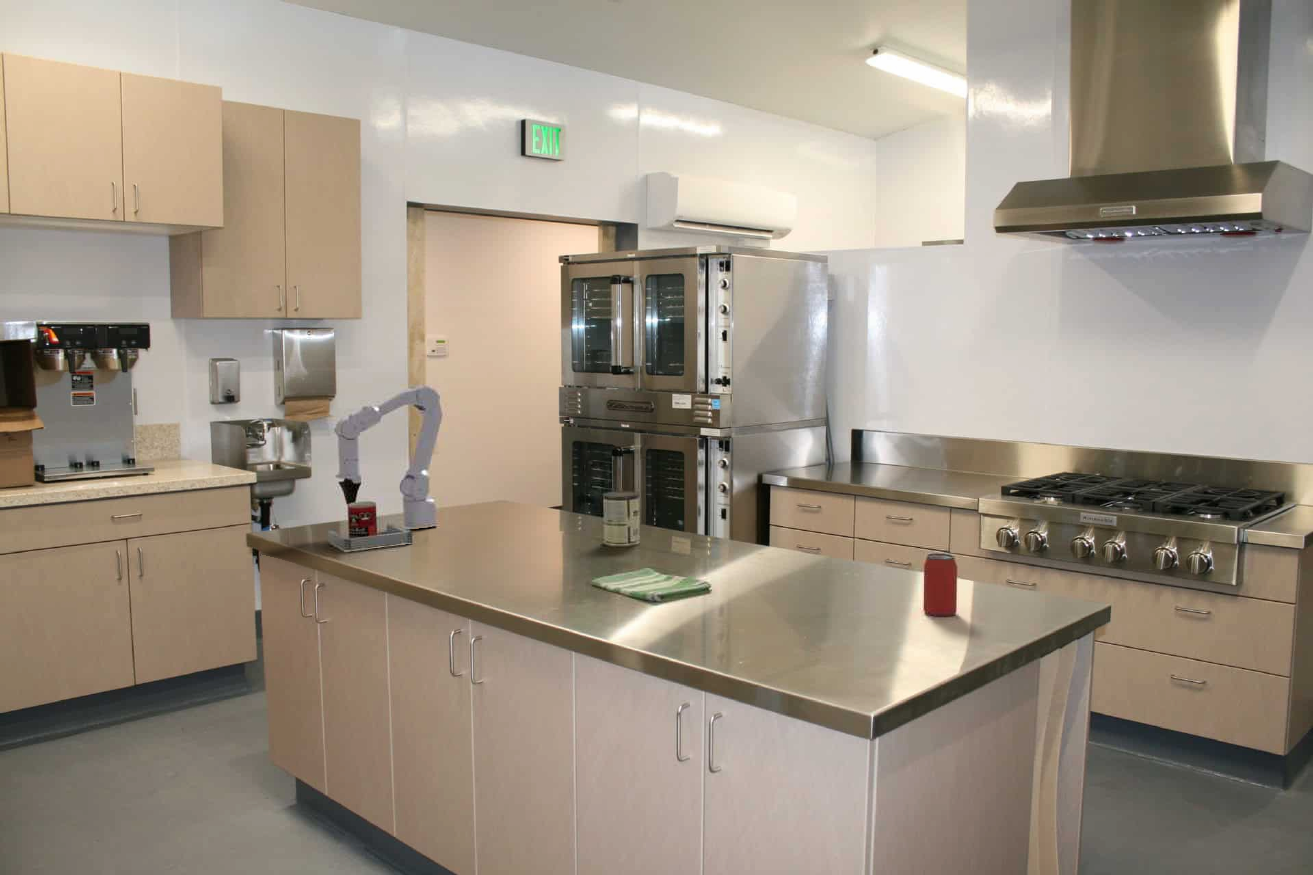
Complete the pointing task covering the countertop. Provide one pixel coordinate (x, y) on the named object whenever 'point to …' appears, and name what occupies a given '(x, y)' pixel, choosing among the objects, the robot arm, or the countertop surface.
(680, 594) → the dish towel
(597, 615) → the countertop surface
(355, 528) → the canned food
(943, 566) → the beer can
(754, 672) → the countertop surface
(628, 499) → the coffee can
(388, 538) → the tray
